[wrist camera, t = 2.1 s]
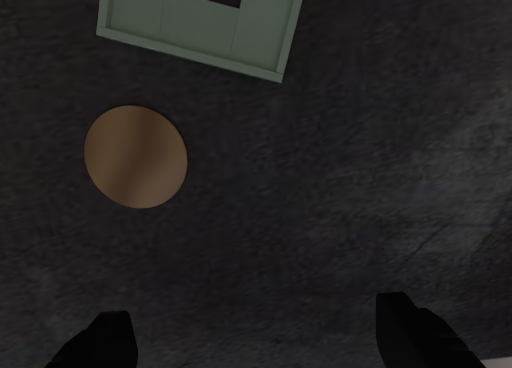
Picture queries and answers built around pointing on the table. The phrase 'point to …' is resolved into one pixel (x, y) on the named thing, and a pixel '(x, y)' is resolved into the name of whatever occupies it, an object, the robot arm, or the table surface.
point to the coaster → (136, 156)
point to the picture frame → (207, 31)
